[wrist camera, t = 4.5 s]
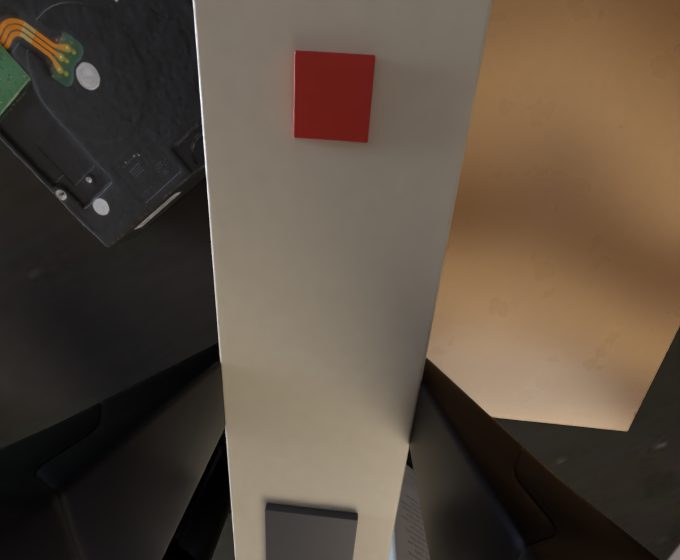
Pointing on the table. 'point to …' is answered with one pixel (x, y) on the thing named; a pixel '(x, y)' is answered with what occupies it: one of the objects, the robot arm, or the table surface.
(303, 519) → the remote
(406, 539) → the small box
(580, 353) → the cork mat
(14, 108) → the disk drive
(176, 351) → the table surface
